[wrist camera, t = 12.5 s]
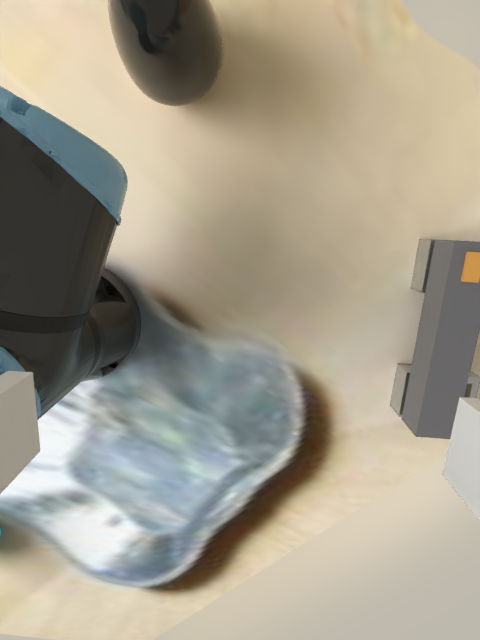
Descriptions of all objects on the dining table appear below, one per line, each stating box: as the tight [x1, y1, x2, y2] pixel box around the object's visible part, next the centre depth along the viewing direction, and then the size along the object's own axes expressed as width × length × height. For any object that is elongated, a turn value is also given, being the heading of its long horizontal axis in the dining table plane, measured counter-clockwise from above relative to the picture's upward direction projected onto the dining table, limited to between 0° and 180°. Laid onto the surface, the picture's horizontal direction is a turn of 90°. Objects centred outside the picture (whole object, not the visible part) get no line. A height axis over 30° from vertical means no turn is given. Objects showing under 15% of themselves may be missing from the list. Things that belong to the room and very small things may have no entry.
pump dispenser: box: [108, 0, 223, 106], centre depth 33 cm, size 10×10×15 cm
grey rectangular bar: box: [402, 240, 480, 439], centre depth 42 cm, size 4×22×8 cm, turn 177°
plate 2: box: [411, 239, 435, 292], centre depth 42 cm, size 9×6×3 cm, turn 86°
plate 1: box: [390, 364, 480, 417], centre depth 46 cm, size 9×6×3 cm, turn 86°
